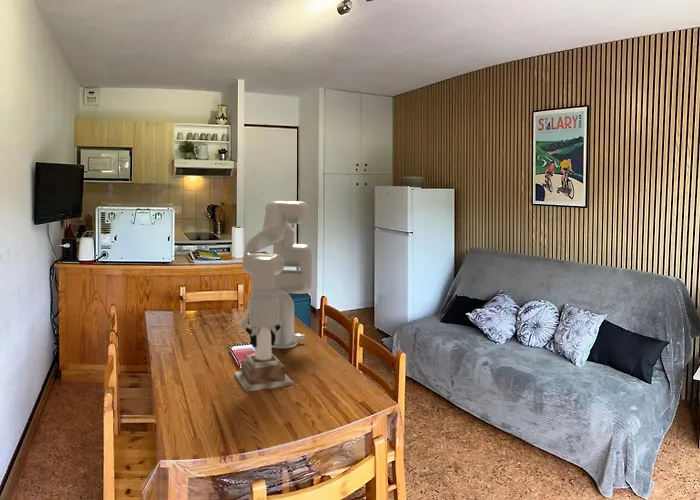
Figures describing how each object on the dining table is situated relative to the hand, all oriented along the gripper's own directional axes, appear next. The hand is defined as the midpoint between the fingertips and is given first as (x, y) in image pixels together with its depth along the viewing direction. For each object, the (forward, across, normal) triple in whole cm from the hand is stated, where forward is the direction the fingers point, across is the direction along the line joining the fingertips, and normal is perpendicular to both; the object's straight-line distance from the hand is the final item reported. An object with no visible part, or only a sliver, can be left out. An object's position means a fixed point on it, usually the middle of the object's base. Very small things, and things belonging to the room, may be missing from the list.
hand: (262, 344), depth 181 cm
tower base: (+13, 0, 0) cm, 13 cm away
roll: (+5, 0, 0) cm, 5 cm away
